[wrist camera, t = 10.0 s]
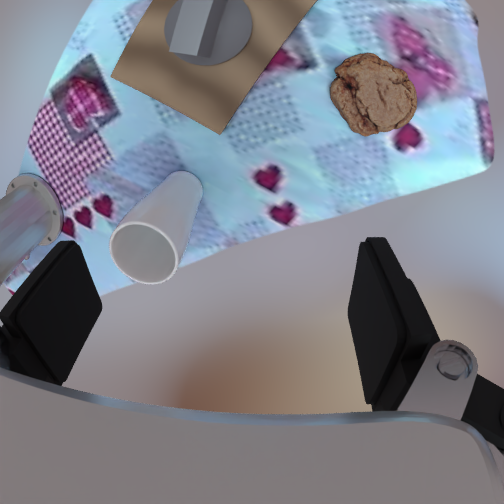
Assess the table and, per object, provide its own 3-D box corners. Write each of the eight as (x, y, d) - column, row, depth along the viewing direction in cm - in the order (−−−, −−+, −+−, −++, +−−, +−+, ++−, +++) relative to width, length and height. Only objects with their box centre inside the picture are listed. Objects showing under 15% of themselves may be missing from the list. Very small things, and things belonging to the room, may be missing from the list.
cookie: (414, 132, 33) (424, 138, 30) (333, 136, 34) (338, 142, 32) (409, 54, 27) (419, 54, 25) (322, 54, 29) (327, 53, 26)
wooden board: (222, 131, 34) (219, 135, 32) (117, 75, 30) (109, 77, 29) (320, -4, 25) (323, -8, 23) (205, -59, 21) (201, -66, 19)
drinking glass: (151, 171, 37) (95, 230, 25) (200, 157, 36) (161, 212, 24) (168, 217, 41) (127, 289, 28) (216, 207, 40) (190, 280, 27)
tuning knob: (239, 73, 29) (231, 74, 23) (158, 58, 28) (132, 58, 22) (268, -17, 23) (267, -37, 17) (184, -30, 22) (164, -49, 16)
